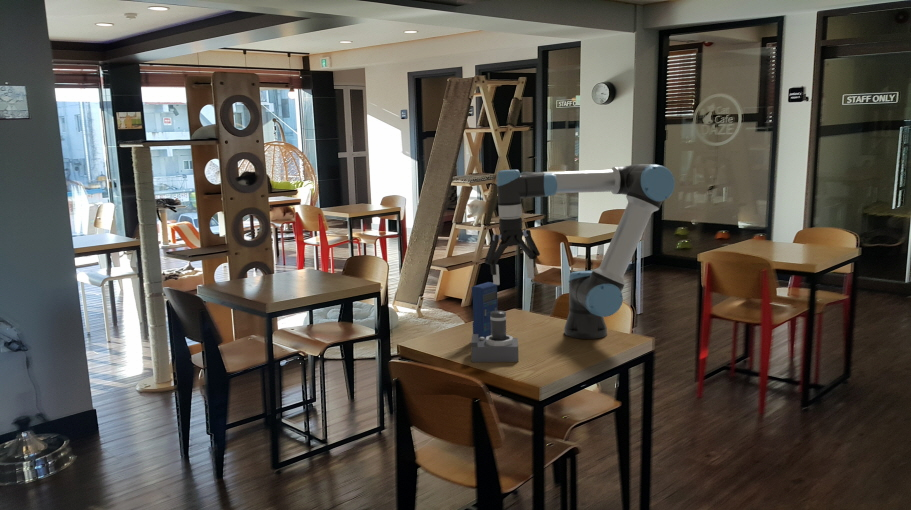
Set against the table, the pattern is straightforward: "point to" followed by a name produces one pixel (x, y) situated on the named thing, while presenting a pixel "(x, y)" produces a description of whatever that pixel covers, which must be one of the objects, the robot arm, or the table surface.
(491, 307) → the electronic device
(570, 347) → the table surface
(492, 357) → the camera body
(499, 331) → the lens
